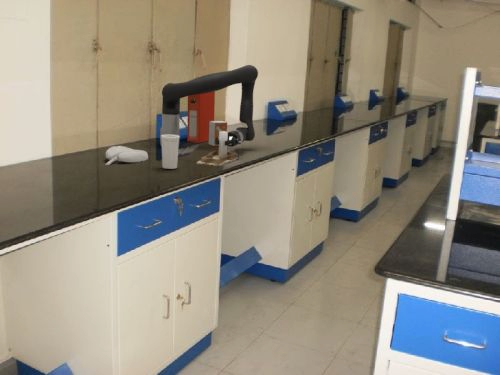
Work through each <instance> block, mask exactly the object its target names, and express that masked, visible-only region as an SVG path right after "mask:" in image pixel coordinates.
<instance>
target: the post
mask: <svg viewBox="0 0 500 375" xmlns="http://www.w3.org/2000/svg"><path fill="white" fill-rule="evenodd" d="M228 132H229V131H227V132H226V131H220V132H219V146H218V151H219V157H224V156H226V155H227V152H228V146H225V141H226V140H227V139H228Z"/></svg>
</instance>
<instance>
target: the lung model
mask: <svg viewBox="0 0 500 375" xmlns="http://www.w3.org/2000/svg"><path fill="white" fill-rule="evenodd" d="M105 158H106V159H108V160H109V161H107V162H106V163H105V166H110V165H111V164H113V163H115V162H123V163H124V162H125V163H140V162H141V161H142V162H145V161H147V160H149V154H148V152H147V151H145V150H143V149H142V150H141V149H133V148H130V147H128V146H123V145H117V146H115V145H113V146H111V147H109V148H108V149H107V150H106V151H105Z"/></svg>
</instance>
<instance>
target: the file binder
mask: <svg viewBox="0 0 500 375" xmlns="http://www.w3.org/2000/svg"><path fill="white" fill-rule="evenodd" d="M215 93H216V91H214V92H210V93H204V94H198V95H190V96H187V138H186V139H187V142H188V141H190V142H189V143H193V142H194V143H193V144H201V143H204V142H209V123H210V121H215V96H216V94H215Z"/></svg>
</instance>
